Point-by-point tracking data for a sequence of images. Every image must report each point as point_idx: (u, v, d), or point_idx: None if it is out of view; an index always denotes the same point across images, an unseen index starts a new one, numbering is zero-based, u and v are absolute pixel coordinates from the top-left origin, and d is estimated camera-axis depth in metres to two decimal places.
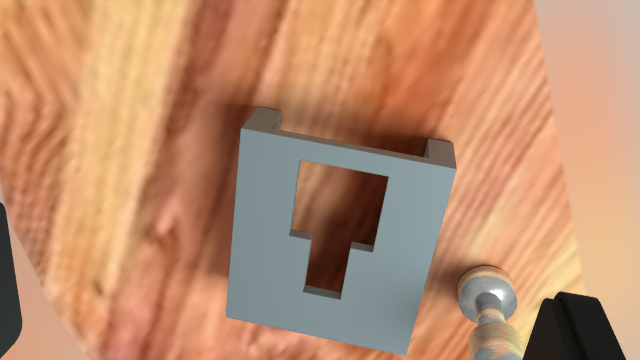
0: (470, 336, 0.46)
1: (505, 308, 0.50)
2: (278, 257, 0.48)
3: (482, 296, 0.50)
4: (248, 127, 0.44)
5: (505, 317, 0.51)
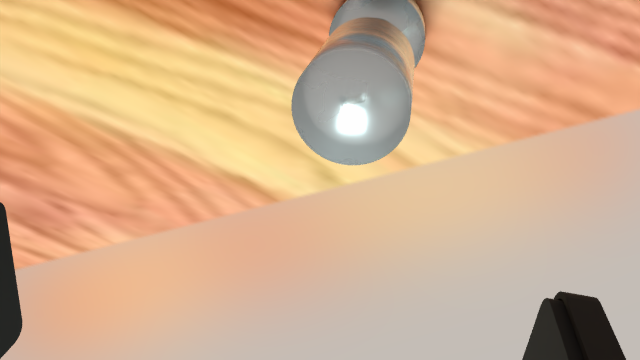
0: (380, 20, 0.24)
1: None
2: None
3: None
4: None
5: None
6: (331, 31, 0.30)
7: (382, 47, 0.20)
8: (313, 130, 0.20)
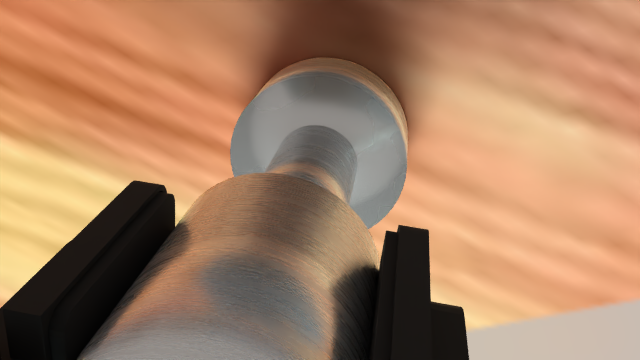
0: (297, 184, 0.10)
1: None
2: None
3: (348, 150, 0.15)
4: None
5: None
6: (234, 146, 0.16)
7: None
8: None
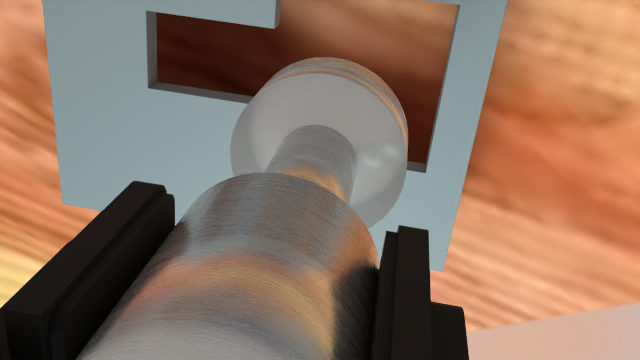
0: (298, 184, 0.10)
1: None
2: None
3: (348, 150, 0.15)
4: None
5: None
6: (234, 146, 0.16)
7: None
8: None
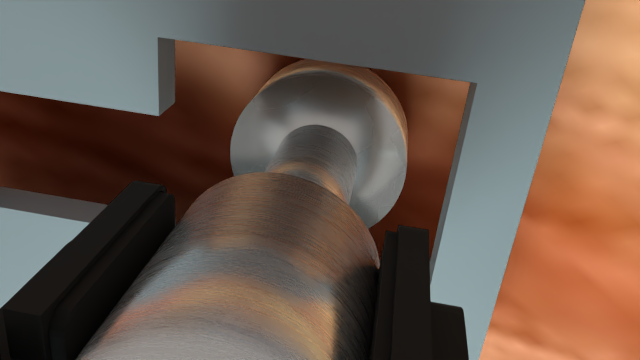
0: (297, 183, 0.10)
1: None
2: None
3: (348, 150, 0.15)
4: None
5: None
6: (234, 146, 0.16)
7: None
8: None
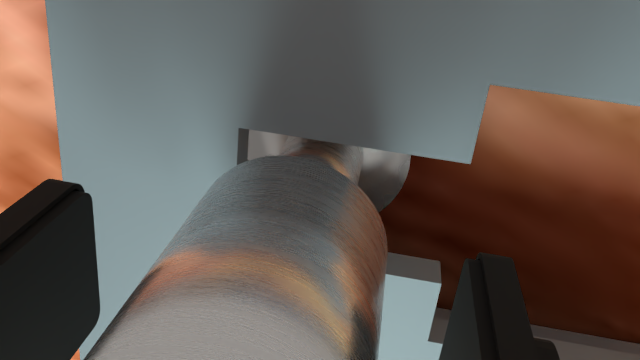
0: (311, 165, 0.11)
1: None
2: (385, 37, 0.12)
3: None
4: None
5: None
6: None
7: (284, 318, 0.07)
8: None
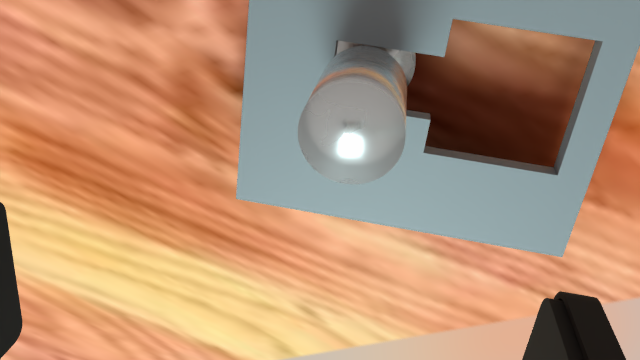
0: (376, 49, 0.26)
1: None
2: None
3: (387, 53, 0.31)
4: None
5: None
6: None
7: (379, 78, 0.22)
8: (317, 153, 0.22)
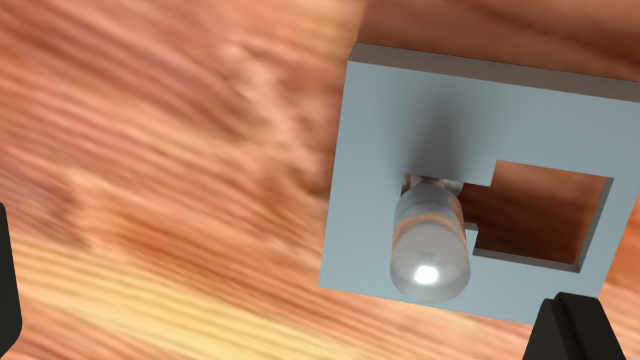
0: (439, 188, 0.34)
1: None
2: (461, 143, 0.35)
3: None
4: None
5: None
6: None
7: (449, 227, 0.30)
8: (403, 282, 0.30)
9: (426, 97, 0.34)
